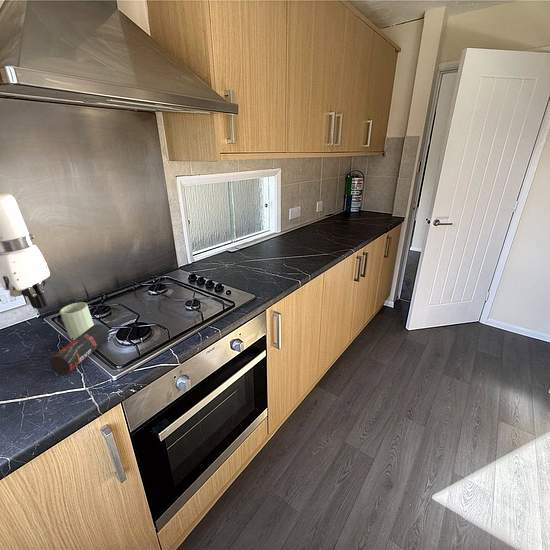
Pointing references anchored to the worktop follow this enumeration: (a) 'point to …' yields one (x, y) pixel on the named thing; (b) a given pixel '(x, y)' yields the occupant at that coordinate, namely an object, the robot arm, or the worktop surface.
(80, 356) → the deodorant
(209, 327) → the worktop surface
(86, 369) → the worktop surface
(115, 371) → the worktop surface
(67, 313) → the cup
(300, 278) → the worktop surface
